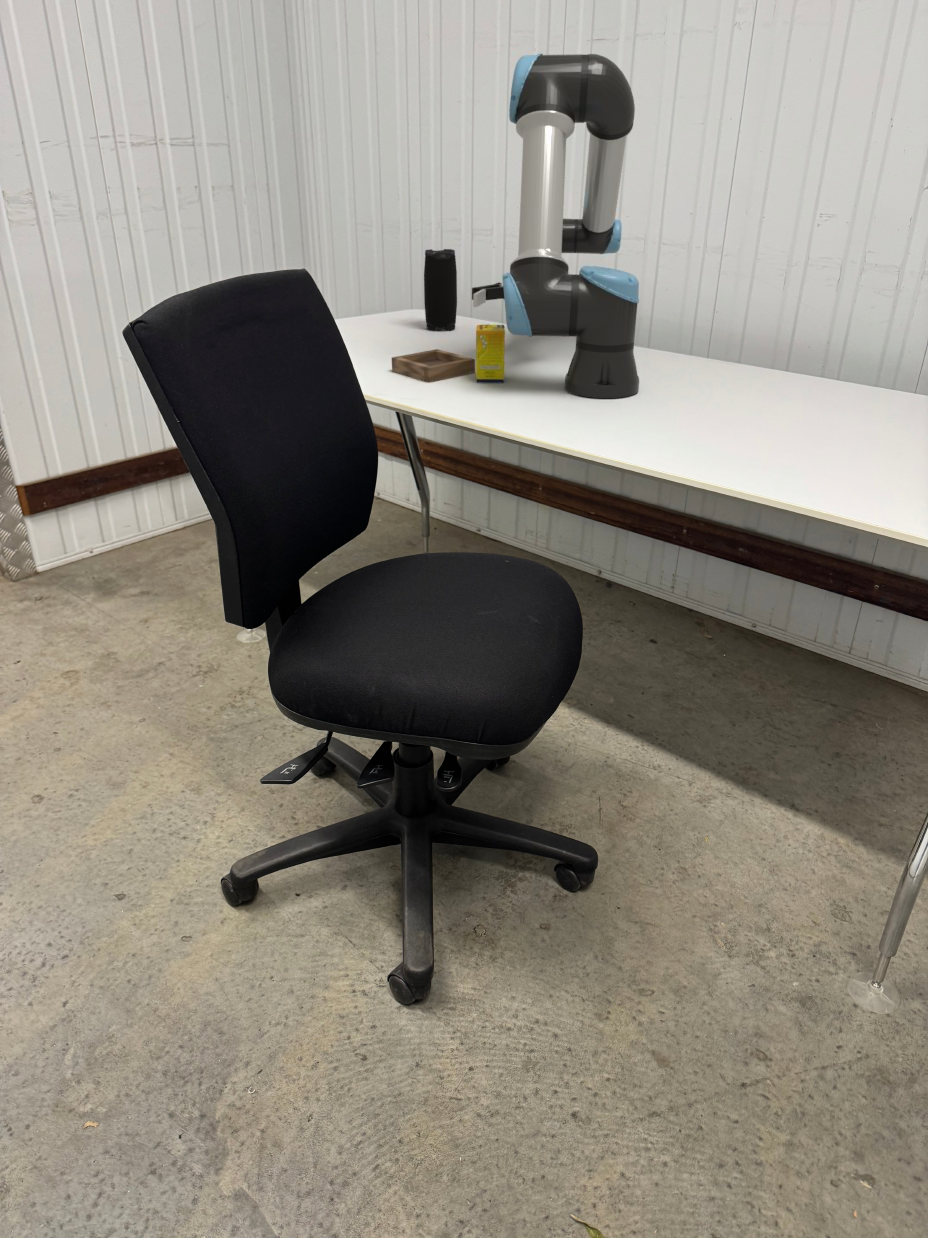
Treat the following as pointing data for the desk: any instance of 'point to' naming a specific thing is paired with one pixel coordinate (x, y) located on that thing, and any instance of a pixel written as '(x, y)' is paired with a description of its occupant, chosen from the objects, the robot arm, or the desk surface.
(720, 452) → the desk surface
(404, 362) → the socket block
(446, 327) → the portable speaker
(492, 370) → the supplement box
